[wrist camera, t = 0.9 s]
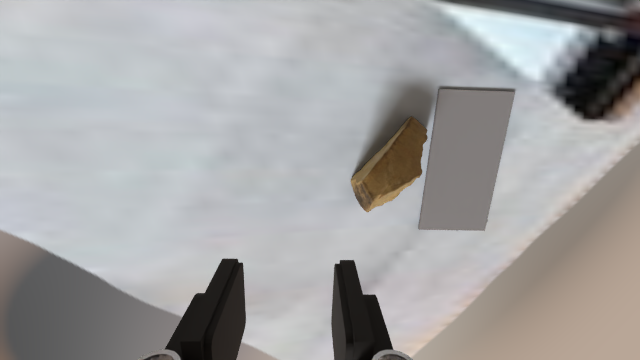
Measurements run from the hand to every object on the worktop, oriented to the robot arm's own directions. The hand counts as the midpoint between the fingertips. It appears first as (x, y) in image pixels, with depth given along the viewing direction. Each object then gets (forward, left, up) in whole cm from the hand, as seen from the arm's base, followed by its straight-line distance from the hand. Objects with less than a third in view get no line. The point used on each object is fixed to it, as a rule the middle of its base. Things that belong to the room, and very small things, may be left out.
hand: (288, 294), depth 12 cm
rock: (-9, 0, -23) cm, 24 cm away
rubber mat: (-18, 0, -22) cm, 29 cm away
